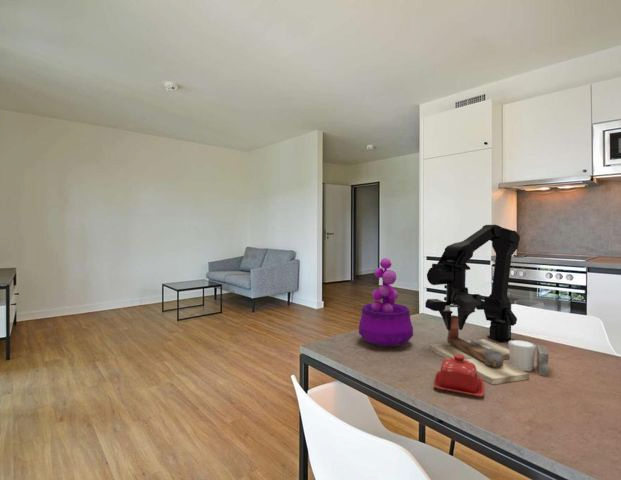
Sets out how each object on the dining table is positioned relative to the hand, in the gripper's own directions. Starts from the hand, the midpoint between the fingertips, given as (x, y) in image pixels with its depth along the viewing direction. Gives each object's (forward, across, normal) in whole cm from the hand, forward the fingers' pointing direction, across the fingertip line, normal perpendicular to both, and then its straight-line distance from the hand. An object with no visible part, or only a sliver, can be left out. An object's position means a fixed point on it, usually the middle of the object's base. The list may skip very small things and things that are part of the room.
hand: (454, 329), depth 115 cm
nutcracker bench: (+6, +5, -11) cm, 14 cm away
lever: (+5, +1, -9) cm, 10 cm away
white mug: (+6, +11, -17) cm, 21 cm away
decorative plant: (+7, -20, +10) cm, 24 cm away
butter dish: (+7, -14, -25) cm, 29 cm away
